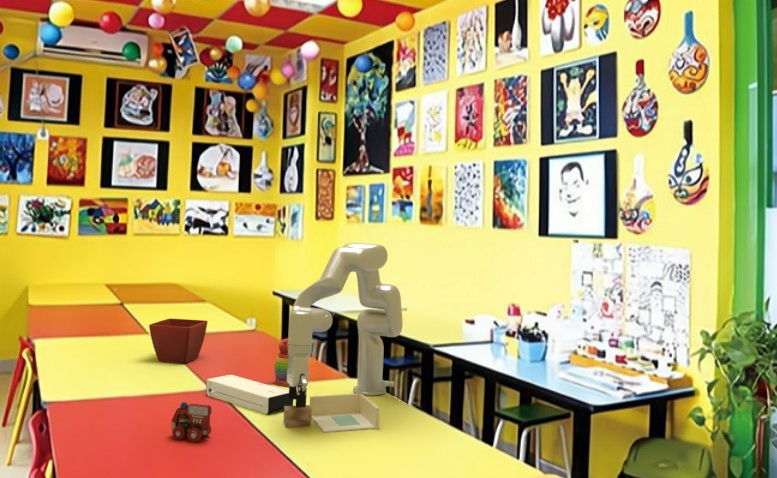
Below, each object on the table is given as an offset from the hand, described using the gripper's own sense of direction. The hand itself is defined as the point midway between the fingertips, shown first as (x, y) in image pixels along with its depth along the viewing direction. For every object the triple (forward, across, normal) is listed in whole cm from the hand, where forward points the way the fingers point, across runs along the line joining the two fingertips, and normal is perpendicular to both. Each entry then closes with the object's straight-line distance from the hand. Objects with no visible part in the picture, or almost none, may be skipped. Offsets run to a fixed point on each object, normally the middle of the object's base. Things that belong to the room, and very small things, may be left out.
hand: (297, 403), depth 215 cm
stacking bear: (+6, -52, +8) cm, 54 cm away
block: (+7, 0, 0) cm, 7 cm away
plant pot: (+6, -102, -30) cm, 107 cm away
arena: (+7, 0, +16) cm, 17 cm away
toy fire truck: (+8, +4, -32) cm, 34 cm away
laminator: (+7, -30, -11) cm, 32 cm away
